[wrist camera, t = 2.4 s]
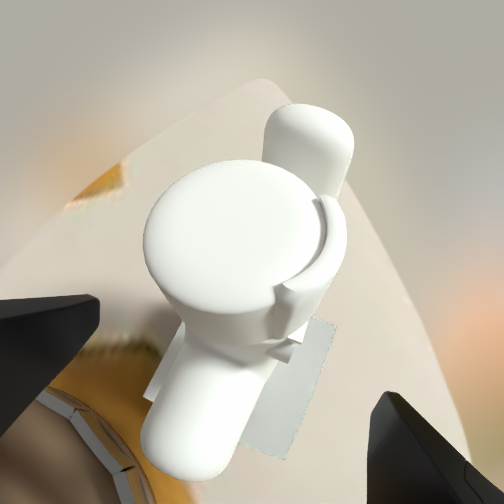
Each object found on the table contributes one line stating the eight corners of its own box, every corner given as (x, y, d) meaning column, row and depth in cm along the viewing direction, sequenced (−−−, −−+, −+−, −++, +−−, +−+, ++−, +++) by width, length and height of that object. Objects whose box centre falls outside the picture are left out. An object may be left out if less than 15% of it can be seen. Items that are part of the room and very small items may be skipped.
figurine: (153, 416, 16) (-64, 367, 3) (221, 285, 20) (196, 53, 7) (268, 468, 14) (362, 611, 1) (325, 327, 19) (460, 133, 6)
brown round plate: (140, 615, 7) (137, 620, 6) (-31, 506, 8) (-37, 507, 8) (187, 443, 15) (184, 445, 14) (-2, 349, 16) (-9, 346, 16)
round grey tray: (134, 618, 6) (126, 630, 4) (-36, 507, 8) (-51, 507, 6) (180, 447, 14) (172, 450, 12) (-8, 350, 15) (-25, 341, 14)
